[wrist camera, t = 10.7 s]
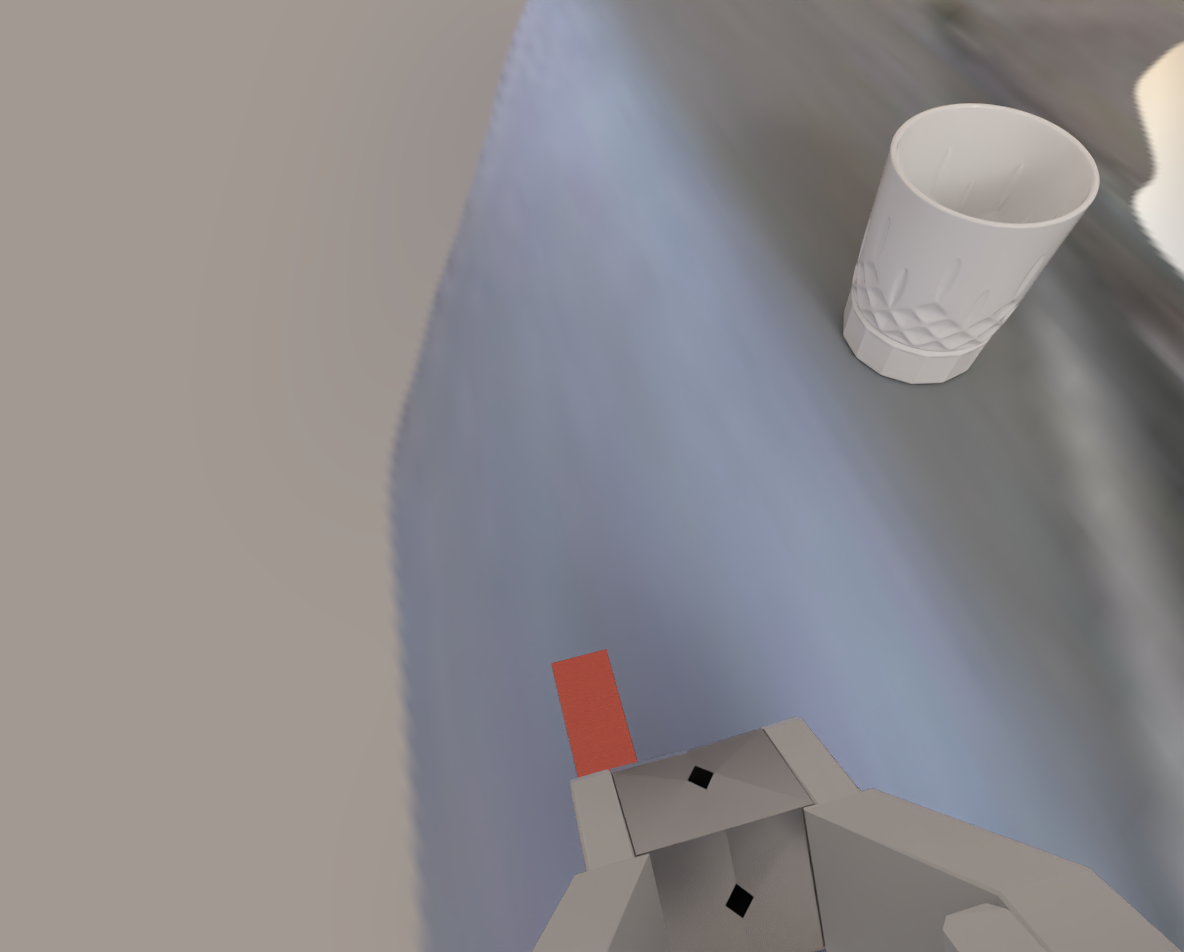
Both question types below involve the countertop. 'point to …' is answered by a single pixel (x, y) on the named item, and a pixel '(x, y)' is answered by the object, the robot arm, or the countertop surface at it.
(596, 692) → the lever
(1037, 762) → the countertop surface
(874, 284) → the white cup
